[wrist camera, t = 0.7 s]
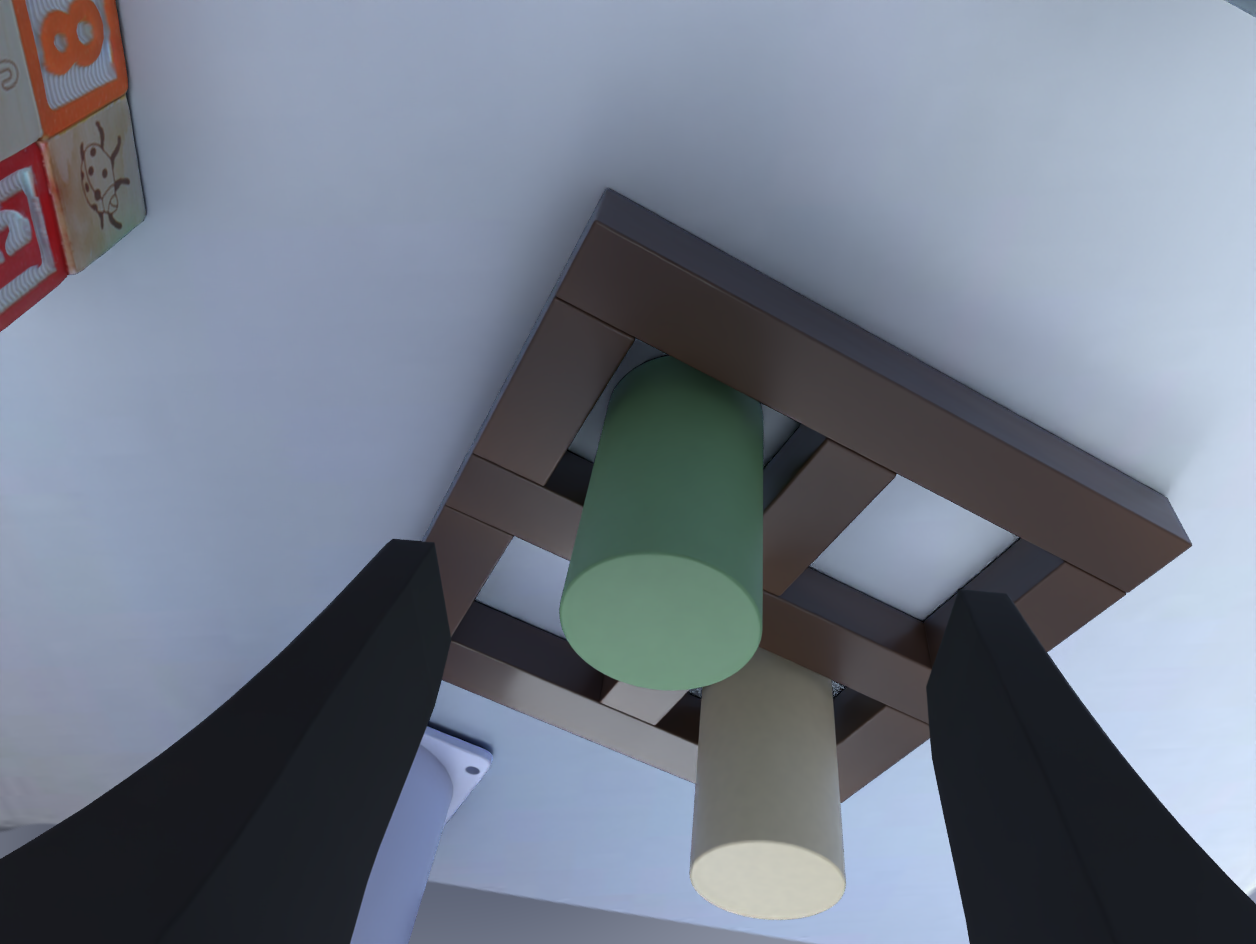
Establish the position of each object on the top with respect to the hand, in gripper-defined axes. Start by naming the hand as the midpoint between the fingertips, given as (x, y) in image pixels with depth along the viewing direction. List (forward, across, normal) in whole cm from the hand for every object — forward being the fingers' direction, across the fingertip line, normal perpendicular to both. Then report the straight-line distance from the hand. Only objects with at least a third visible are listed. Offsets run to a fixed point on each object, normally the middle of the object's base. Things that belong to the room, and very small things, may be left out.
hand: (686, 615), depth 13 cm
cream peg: (+10, -2, +13) cm, 17 cm away
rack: (+10, -1, +9) cm, 13 cm away
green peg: (+10, +1, +4) cm, 11 cm away
